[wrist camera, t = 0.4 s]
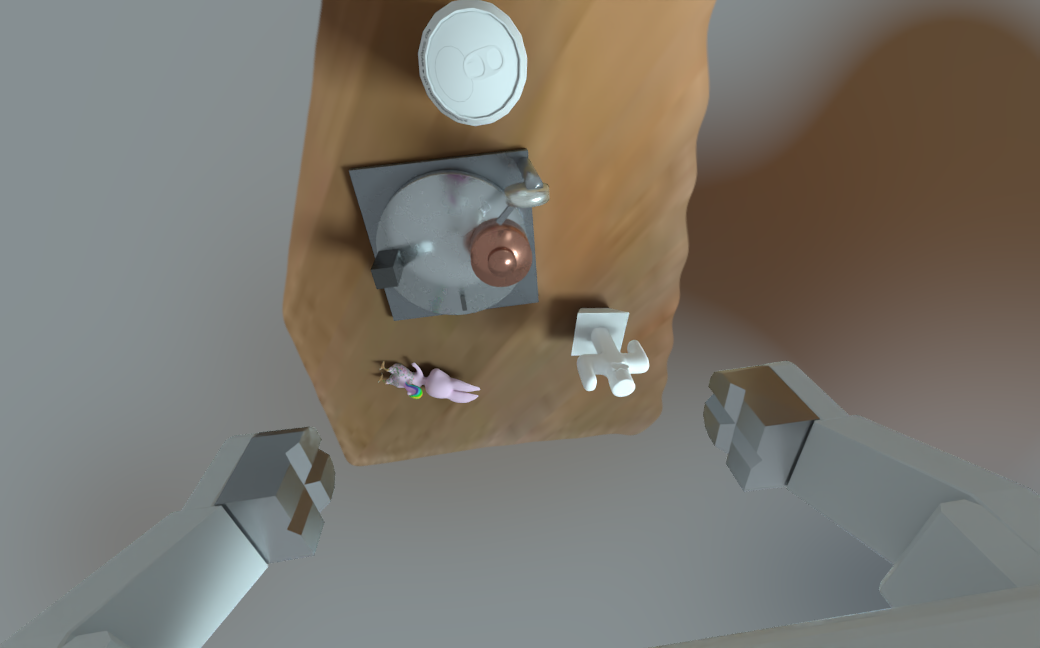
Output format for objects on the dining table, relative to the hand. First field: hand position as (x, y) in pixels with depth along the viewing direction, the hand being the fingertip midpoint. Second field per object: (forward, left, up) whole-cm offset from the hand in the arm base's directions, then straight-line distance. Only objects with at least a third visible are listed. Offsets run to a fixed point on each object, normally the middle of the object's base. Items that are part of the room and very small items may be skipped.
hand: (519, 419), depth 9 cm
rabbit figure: (+35, -12, -45) cm, 59 cm away
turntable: (+14, -5, -44) cm, 46 cm away
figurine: (+29, +13, -45) cm, 55 cm away
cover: (+14, +1, -42) cm, 44 cm away
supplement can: (-5, 0, -45) cm, 45 cm away
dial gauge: (+7, +3, -44) cm, 45 cm away
